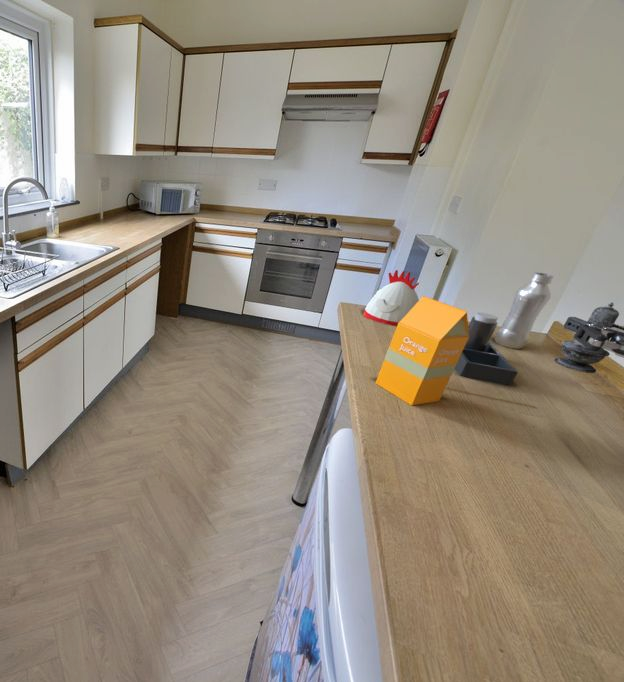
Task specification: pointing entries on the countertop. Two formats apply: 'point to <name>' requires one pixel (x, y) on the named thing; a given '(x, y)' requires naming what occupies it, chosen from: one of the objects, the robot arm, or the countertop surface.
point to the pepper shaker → (480, 331)
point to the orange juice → (424, 351)
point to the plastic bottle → (524, 312)
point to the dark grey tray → (486, 366)
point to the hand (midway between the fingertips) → (581, 322)
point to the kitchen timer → (393, 300)
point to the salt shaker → (581, 355)
